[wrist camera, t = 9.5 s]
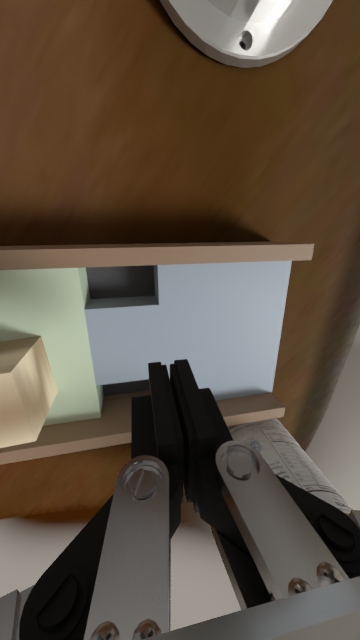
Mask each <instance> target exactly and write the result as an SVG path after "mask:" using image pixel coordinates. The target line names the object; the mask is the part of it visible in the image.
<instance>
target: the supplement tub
mask: <svg viewBox="0 0 360 640" xmlns="http://www.w3.org/2000/svg"><path fill="white" fill-rule="evenodd" d="M227 427H228V429H229V431H230V434H231V436H232V438H233V440H235V441H242V442H245V443H248V444H250V445H251V446H253V447H254V448H255V449H256V450H257V451H258V452H259V453H260V454H261V455H262V457H263V458H264V460H265V461H266V462H267V464H268V465H269V467H270V468H271V469H272V471H273V472H274V474H276V475H278V476H280V477H282V478H283V479H285V480H287V481H289V482H291V483H293V484H294V485H296V486H298V487H300V488H302V489H304V490H305V491H307V492H309V493H311V494H313V495H315V496H316V497H318V498H320V499H322V500H324V501H326V502H327V503H329V504H331V505H333V506H335V507H336V508H338V509H339V510H341V511H342V512H344V513H349V514H350V512H351V510H353V509H352V508H351V507H350V506H349V505H348V503H347V502H346V501H345V500H344V499H343V497H342V496H341V495H340V494H339V492H338V491H337V490H336V489H335V488H334V486H333V485H332V484H331V483H330V482H329V480H328V479H327V478H326V477H325V476H324V474H323V473H322V472H321V471H320V470H319V468H318V467H317V466H316V465H315V464H314V462H313V461H312V460H311V459H310V457H309V456H308V455H307V454H306V453H305V452H304V450H303V449H302V448H301V447H300V446H299V444H298V443H297V442H296V441H295V440H294V438H293V437H292V436H291V435H290V434H289V432H288V431H287V430H286V429H285V428H284V426H283V425H282V424H281V423H280V422H279V420H278V419H277V418H273V419H267V420H262V421H256V422H250V423H244V424H238V425H232V426H227Z"/></svg>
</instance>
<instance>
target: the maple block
mask: <svg viewBox="0 0 360 640" xmlns="http://www.w3.org/2000/svg"><path fill="white" fill-rule="evenodd" d="M57 392H58V391H57V388H56V384H55V381H54V378H53V374H52V371H51V368H50V364H49V361H48V358H47V354H46V351H45V348H44V344H43V341H42V338H41V336H38V337H30V338H23V339H15V340H8V341H0V448H4V447H9V446H14V445H19V444H24V443H29V442H34V441H36V440H37V438H38V435H39V433H40V431H41V429H42V426H43V424H44V422H45V420H46V417H47V415H48V413H49V410H50V408H51V406H52V404H53V401H54V399H55V397H56V395H57Z"/></svg>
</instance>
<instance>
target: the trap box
mask: <svg viewBox="0 0 360 640" xmlns="http://www.w3.org/2000/svg"><path fill="white" fill-rule="evenodd" d="M313 249H314V244H305V243H288V242H272V241H270V242H210V243H150V244H89V245H29V246H0V341H8V340H15V339H23V338H30V337H38V336H41V338H42V341H43V344H44V348H45V351H46V354H47V358H48V361H49V364H50V368H51V371H52V374H53V378H54V381H55V384H56V388H57V391H58V392H57V395H56V397H55V399H54V401H53V404H52V406H51V408H50V410H49V413H48V415H47V417H46V420H45V422H44V424H43V426H42V429H41V431H40V433H39V435H38V438H37V440H36V441H34V442H29V443H24V444H19V445H14V446H9V447H4V448H0V465H1V464H7V463H13V462H18V461H24V460H30V459H36V458H42V457H48V456H54V455H60V454H66V453H72V452H78V451H84V450H90V449H96V448H101V447H107V446H113V445H119V444H125V443H131V401H132V397H136V396H144V395H150V389H149V372H148V363H152V362H161V365H166V366H167V370H168V374H169V379H170V364H174V360H182V359H187V360H188V362H189V365H190V367H191V370H192V372H193V375H194V377H195V380H196V383H197V385H198V388H199V389H202V388H210V390H211V392H212V394H213V396H214V398H215V400H216V403H217V405H218V407H219V409H220V412H221V414H222V416H223V418H224V420H225V423H226V425H227V426H232V425H238V424H244V423H250V422H256V421H262V420H267V419H273V418H279V417H284V412H285V406H284V405H283V404H282V403H281V402H280V401H279V400H278V399H277V397H276V396H275V395H274V394H273V393H272V389H273V382H274V376H275V369H276V362H277V356H278V349H279V342H280V336H281V329H282V322H283V316H284V309H285V302H286V296H287V289H288V282H289V276H290V269H291V263H292V261H294V260H312V254H313Z"/></svg>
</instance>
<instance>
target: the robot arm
mask: <svg viewBox="0 0 360 640" xmlns="http://www.w3.org/2000/svg"><path fill="white" fill-rule="evenodd" d="M332 1H333V0H160V2H161V4H162V5H163V7H164V9H165V10H166V12H167V13H168V15H169V16H170V18H171V20H172V21H173V23H174V24H175V26H176V27H177V28H178V29H179V30H180V31H181V32H182V34H183V35H184V36H185V37H186V38H187V39H188V40H189V42H190V43H191V44H193V45H194V46H195V47H197V48H198V49H199V50H200V51H202V52H203V53H204V54H206V55H207V56H208V57H211V58H213V59H215V60H217V61H219V62H221V63H223V64H226V65H231V66H236V67H241V68H248V67H260V66H263V65H266V64H269V63H272V62H275V61H277V60H279V59H280V58H282V57H283V56H285V55H286V54H288V53H289V52H291V51H292V50H293V49H294V48H295V47H296V46H297V45H298V44H299V43H300V42H301V41H302V40H303V39H304V38H305V37H306V36H307V35H308V34H309V33H310V32H311V30H312V29H313V28H314V27H315V26H316V24H317V23H318V22H319V21H320V20H321V19H322V17H323V15H324V14H325V12H326V11H327V9H328V7H329V6H330V4H331V3H332ZM148 372H149V389H150V395H144V396H136V397H132V401H131V460H130V461H128V462H127V463H126V464H125V465H124V466H123V468H122V469H121V470H120V472H119V474H118V477H117V480H116V485H115V490H114V494H113V495H112V496H111V498H110V499H109V500H108V501H107V502H106V503H105V504H104V506H103V507H102V508H101V509H100V510H99V511H98V512H97V513H96V515H95V516H94V517H93V518H92V519H91V520H90V522H89V523H88V524H87V525H86V526H85V527H84V528H83V529H82V530H81V532H80V533H79V534H78V535H77V536H76V537H75V539H74V540H73V541H72V542H71V543H70V544H69V545H68V546H67V548H66V549H65V550H64V551H63V552H62V553H61V554H60V555H59V557H58V558H57V559H56V560H55V561H54V562H53V563H52V565H51V566H50V567H49V568H48V569H47V570H46V571H45V572H44V574H43V575H42V576H41V578H40V579H39V580H38V581H37V583H36V584H35V585H33V586H31V587H30V588H28V589H26V590H24V591H22V592H20V593H19V591H18V590H15V591H13V592H11V593H9V594H7V595H5V596H3V597H1V598H0V640H360V511H359V510H351V512H350V514H349V513H344V512H342V511H341V510H339V509H338V508H336V507H335V506H333V505H331V504H329V503H327V502H326V501H324V500H322V499H320V498H318V497H316V496H315V495H313V494H311V493H309V492H307V491H305V490H304V489H302V488H300V487H298V486H296V485H294V484H293V483H291V482H289V481H287V480H285V479H283V478H282V477H280V476H278V475H276V474H274V472H273V471H272V469H271V468H270V467H269V465H268V464H267V462H266V461H265V460H264V458H263V457H262V455H261V454H260V453H259V452H258V451H257V450H256V449H255V448H254V447H253V446H251V445H250V444H248V443H245V442H242V441H235V440H233V438H232V436H231V434H230V431H229V429H228V427H227V425H226V423H225V420H224V418H223V416H222V414H221V412H220V409H219V407H218V405H217V403H216V400H215V398H214V396H213V394H212V392H211V390H210V388H202V389H199V388H198V385H197V383H196V380H195V377H194V375H193V372H192V370H191V367H190V365H189V362H188V360H187V359H182V360H174V364H170V379H169V374H168V370H167V366H166V365H161V362H152V363H148ZM183 484H184V489H185V494H186V499H187V502H188V503H189V502H193V505H194V510H195V513H196V512H199V513H200V517H201V518H202V519H203V520H204V521H205V522H207V523H208V524H209V525H210V528H211V532H212V534H213V537H214V540H215V542H216V545H217V548H218V550H219V553H220V556H221V558H222V561H223V563H224V566H225V568H226V571H227V574H228V576H229V579H230V581H231V584H232V587H233V589H234V592H235V595H236V597H237V600H238V602H239V605H240V608H241V611H238V612H234V613H231V614H228V615H224V616H221V617H217V618H214V619H211V620H207V621H204V622H200V623H197V624H194V625H190V626H187V627H183V628H180V629H176V630H173V631H170V565H171V564H170V562H171V559H170V558H171V557H170V554H171V550H170V549H171V546H170V545H171V544H170V543H171V541H170V540H171V538H172V536H173V534H174V533H175V531H176V529H177V528H178V526H179V524H180V522H181V504H182V503H183Z"/></svg>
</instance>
